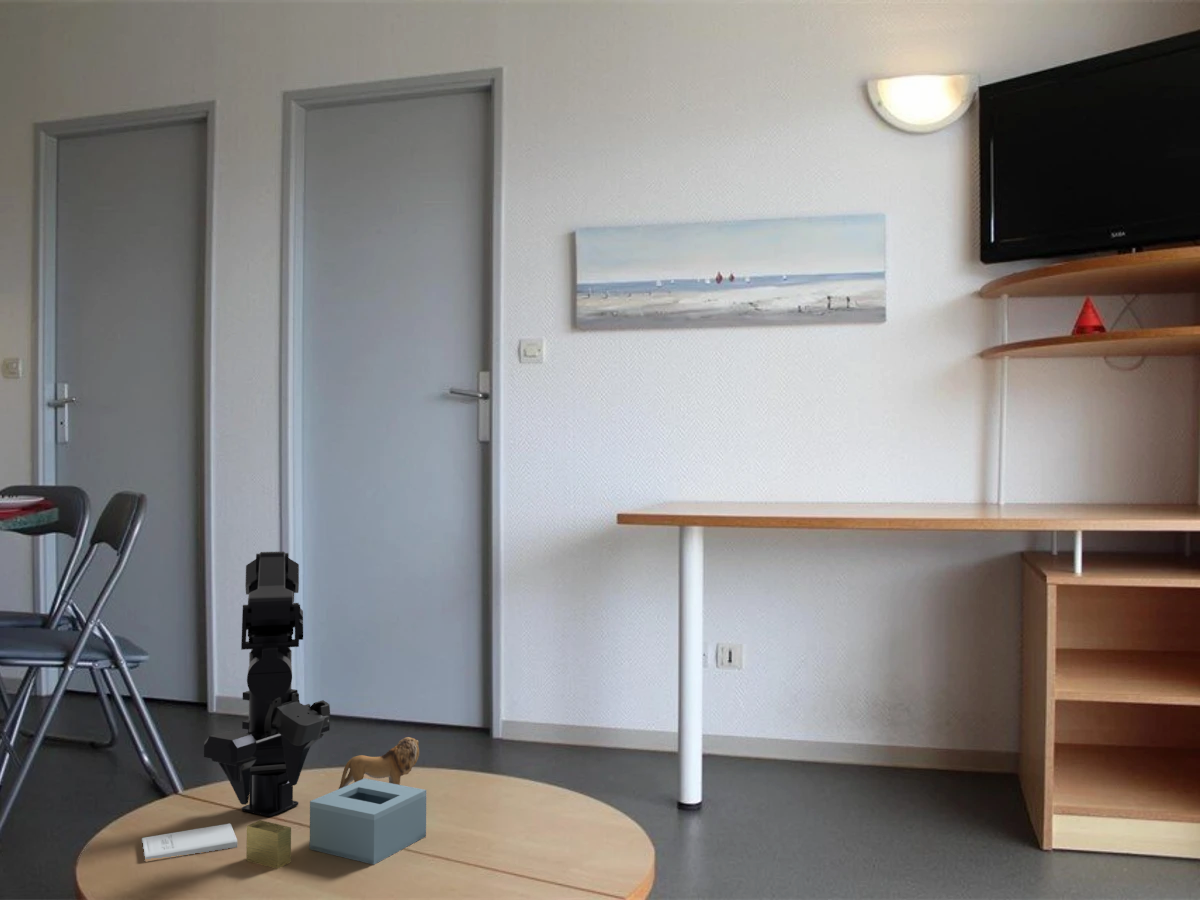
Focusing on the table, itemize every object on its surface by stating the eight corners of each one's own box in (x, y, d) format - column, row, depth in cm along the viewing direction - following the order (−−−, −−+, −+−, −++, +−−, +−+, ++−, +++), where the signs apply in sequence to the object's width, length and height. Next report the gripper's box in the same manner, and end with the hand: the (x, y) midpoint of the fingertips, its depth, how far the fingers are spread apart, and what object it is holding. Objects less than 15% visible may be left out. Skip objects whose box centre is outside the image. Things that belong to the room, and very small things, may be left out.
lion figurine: (415, 783, 175) (415, 732, 175) (422, 792, 170) (423, 740, 170) (330, 794, 169) (330, 742, 169) (335, 804, 164) (336, 750, 164)
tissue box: (309, 849, 144) (309, 801, 145) (364, 823, 155) (364, 778, 155) (373, 864, 139) (374, 814, 139) (426, 836, 150) (426, 789, 150)
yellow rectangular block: (246, 861, 140) (246, 825, 140) (259, 855, 143) (260, 820, 143) (277, 869, 138) (277, 833, 138) (290, 862, 140) (291, 827, 140)
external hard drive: (237, 851, 145) (144, 866, 139) (230, 832, 153) (141, 846, 147) (237, 840, 145) (144, 855, 140) (230, 822, 153) (141, 835, 147)
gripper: (261, 704, 129) (260, 825, 128) (358, 677, 145) (357, 784, 145) (201, 695, 134) (200, 811, 133) (301, 669, 150) (300, 772, 150)
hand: (269, 794), depth 140 cm, fingers open, 9 cm apart
